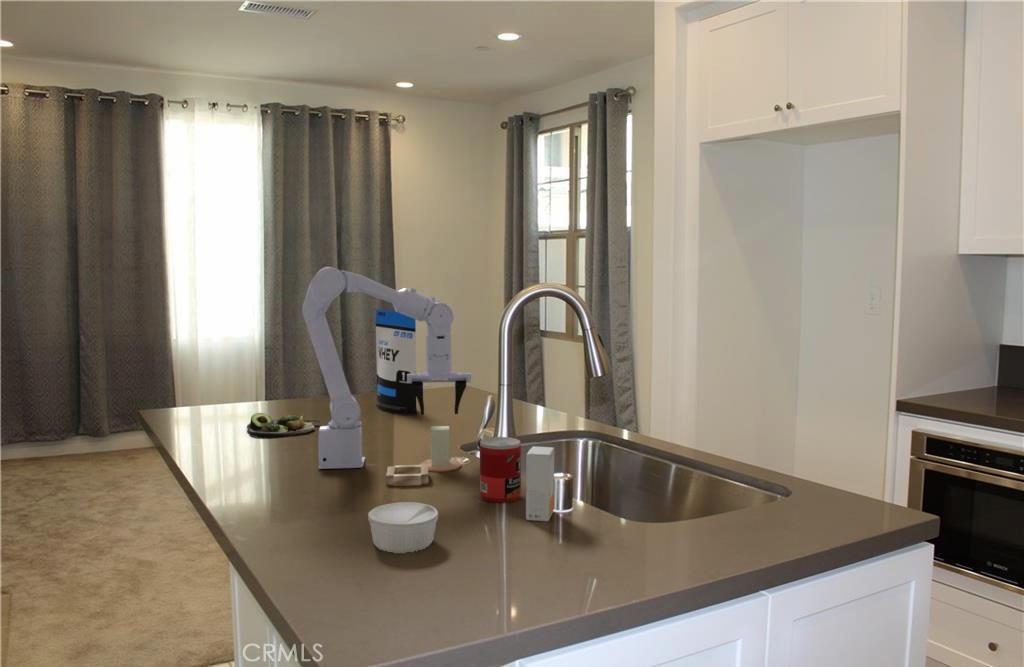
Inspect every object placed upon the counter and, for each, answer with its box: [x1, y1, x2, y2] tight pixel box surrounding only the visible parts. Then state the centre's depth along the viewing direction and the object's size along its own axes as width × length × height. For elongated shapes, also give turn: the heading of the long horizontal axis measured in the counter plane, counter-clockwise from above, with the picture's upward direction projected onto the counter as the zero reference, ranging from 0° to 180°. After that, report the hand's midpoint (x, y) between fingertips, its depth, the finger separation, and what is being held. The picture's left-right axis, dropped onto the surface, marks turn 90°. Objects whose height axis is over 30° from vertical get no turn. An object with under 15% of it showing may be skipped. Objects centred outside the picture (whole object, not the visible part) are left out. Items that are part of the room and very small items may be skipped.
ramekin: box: [367, 501, 439, 554], centre depth 128 cm, size 11×11×5 cm
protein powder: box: [375, 308, 418, 416], centre depth 241 cm, size 10×24×30 cm, turn 38°
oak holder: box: [385, 464, 429, 487], centre depth 165 cm, size 8×8×2 cm
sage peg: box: [430, 425, 451, 466], centre depth 175 cm, size 4×4×8 cm
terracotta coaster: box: [419, 458, 462, 473], centre depth 175 cm, size 9×9×1 cm
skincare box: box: [525, 446, 555, 522], centre depth 141 cm, size 6×4×12 cm
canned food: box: [479, 436, 522, 504], centre depth 152 cm, size 8×8×11 cm
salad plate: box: [246, 412, 321, 438], centre depth 213 cm, size 19×18×5 cm
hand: (439, 413), depth 181 cm, fingers open, 7 cm apart
